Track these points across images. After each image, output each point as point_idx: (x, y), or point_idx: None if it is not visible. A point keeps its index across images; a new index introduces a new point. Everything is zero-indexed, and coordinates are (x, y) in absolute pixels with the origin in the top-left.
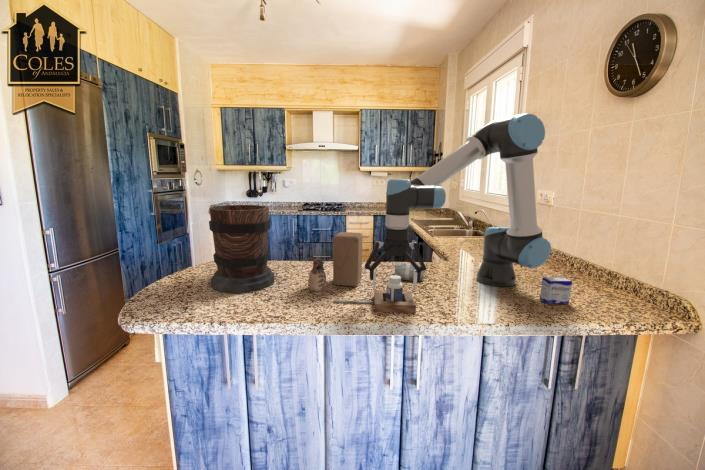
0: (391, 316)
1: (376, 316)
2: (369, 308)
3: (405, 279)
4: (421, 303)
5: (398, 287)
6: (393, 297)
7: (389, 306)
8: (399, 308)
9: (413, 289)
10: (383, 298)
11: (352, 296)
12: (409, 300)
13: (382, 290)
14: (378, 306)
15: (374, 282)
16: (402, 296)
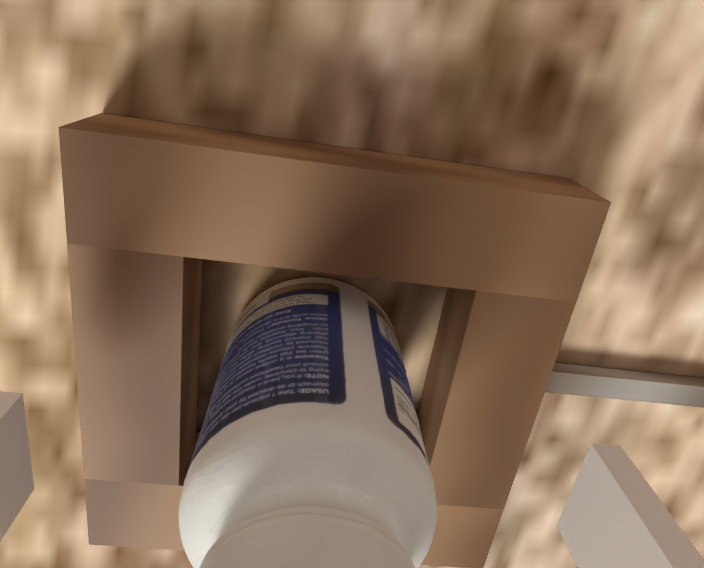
0: (418, 28)
1: (595, 41)
2: (597, 260)
3: None
4: (10, 361)
5: (269, 422)
6: (344, 333)
7: (424, 171)
8: (296, 150)
9: (24, 450)
10: None
11: None
12: (135, 299)
13: None
14: (556, 189)
15: (670, 542)
16: None
